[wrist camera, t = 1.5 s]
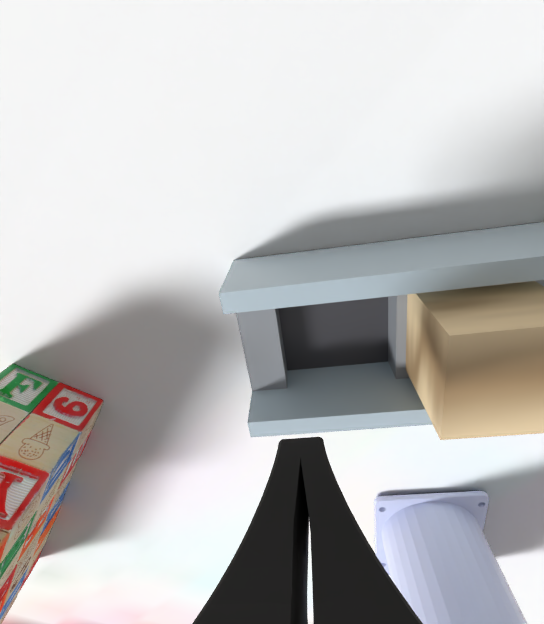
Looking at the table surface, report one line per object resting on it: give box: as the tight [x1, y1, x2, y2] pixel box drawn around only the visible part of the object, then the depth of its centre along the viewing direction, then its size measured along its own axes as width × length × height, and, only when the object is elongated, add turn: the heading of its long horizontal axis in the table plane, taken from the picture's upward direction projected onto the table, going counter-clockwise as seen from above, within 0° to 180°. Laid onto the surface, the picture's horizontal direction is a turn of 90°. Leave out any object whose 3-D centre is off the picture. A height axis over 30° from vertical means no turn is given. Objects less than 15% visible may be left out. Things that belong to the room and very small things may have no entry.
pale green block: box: [219, 222, 544, 437], centre depth 17 cm, size 12×27×4 cm, turn 98°
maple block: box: [406, 281, 544, 440], centre depth 16 cm, size 5×5×5 cm
